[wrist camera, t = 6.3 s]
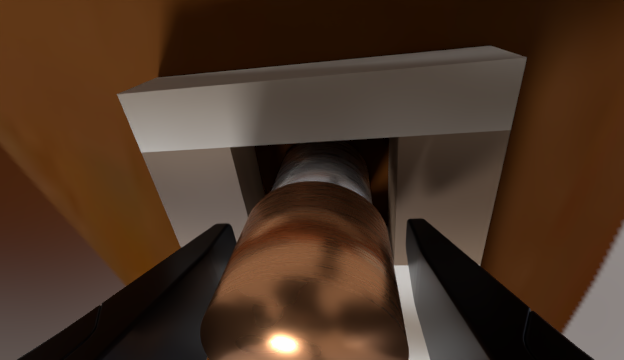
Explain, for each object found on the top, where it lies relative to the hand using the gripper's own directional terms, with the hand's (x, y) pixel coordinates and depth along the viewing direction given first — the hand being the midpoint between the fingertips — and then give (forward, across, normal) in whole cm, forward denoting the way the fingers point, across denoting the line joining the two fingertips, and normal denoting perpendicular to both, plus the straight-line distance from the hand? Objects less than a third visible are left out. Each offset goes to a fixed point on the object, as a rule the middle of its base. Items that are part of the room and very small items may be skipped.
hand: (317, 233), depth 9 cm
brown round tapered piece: (+3, 0, 0) cm, 3 cm away
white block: (+3, 0, +3) cm, 4 cm away
